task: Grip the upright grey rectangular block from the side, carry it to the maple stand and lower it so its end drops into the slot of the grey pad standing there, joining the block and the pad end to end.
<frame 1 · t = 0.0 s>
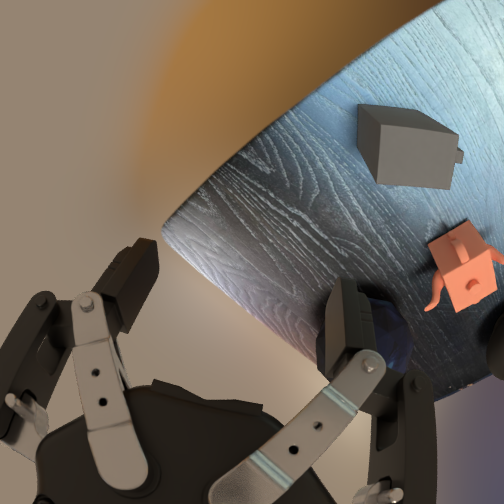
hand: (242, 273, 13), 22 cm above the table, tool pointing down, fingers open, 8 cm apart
decorative orb: (360, 310, 45), on the table
teapot: (454, 249, 35), on the table
grey rectangular block: (388, 128, 28), on the table
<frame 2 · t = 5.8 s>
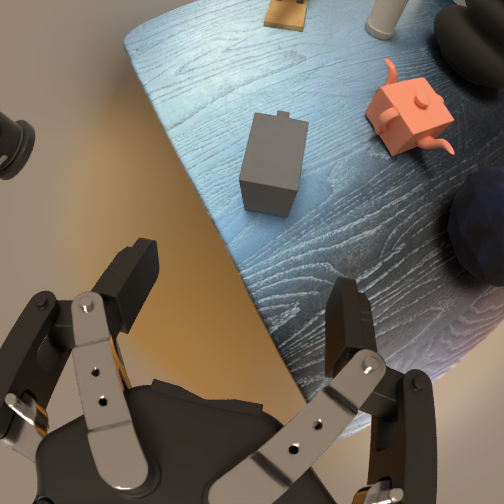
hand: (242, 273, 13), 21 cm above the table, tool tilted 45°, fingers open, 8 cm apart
bottle: (377, 32, 38), on the table
decorative orb: (467, 235, 33), on the table
pad stand: (288, 6, 39), on the table
teapot: (398, 129, 35), on the table
grey rectangular block: (271, 185, 35), on the table
vase: (461, 64, 37), on the table
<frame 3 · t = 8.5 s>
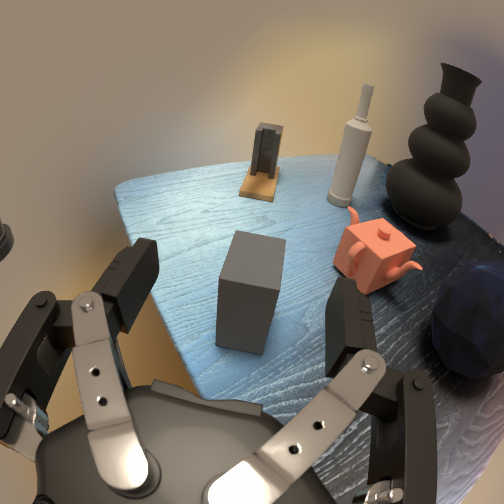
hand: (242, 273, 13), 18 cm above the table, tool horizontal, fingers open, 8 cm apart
bottle: (338, 201, 59), on the table
decorative orb: (452, 352, 31), on the table
pad stand: (260, 182, 61), on the table
teapot: (365, 275, 42), on the table
grey rectangular block: (244, 324, 33), on the table
vase: (413, 218, 59), on the table
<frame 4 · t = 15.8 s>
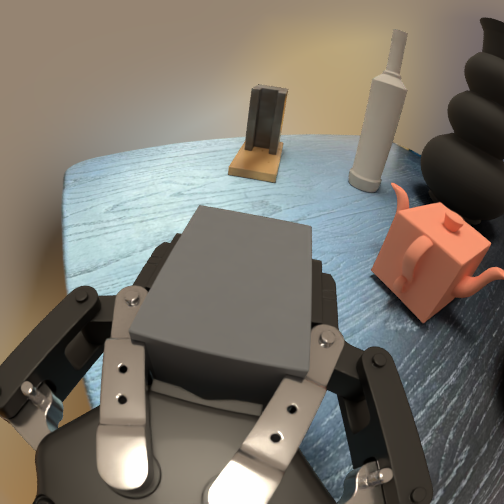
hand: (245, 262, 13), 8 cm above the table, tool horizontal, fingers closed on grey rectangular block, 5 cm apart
bottle: (362, 186, 43), on the table
pad stand: (259, 159, 45), on the table
teapot: (416, 288, 26), on the table
grey rectangular block: (224, 390, 16), on the table, touching gripper
vase: (453, 210, 43), on the table
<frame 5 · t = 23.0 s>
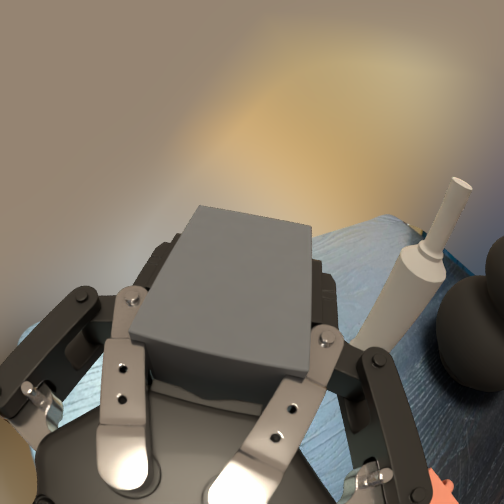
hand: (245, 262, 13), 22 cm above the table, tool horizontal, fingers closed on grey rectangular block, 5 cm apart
bottle: (360, 360, 35), on the table
grey rectangular block: (224, 390, 16), point 14 cm above the table, touching gripper
vase: (462, 359, 35), on the table
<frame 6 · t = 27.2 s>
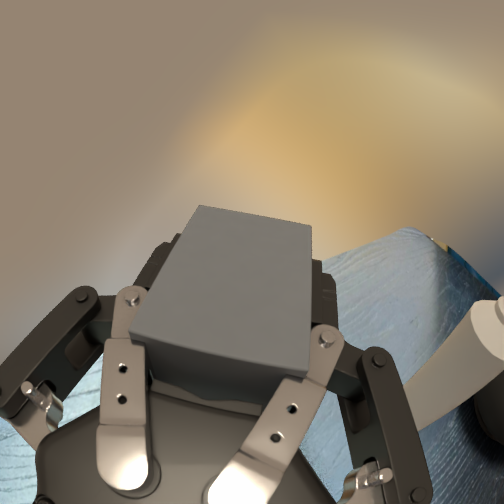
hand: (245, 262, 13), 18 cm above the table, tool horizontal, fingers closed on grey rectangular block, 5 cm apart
bottle: (386, 426, 24), on the table
grey rectangular block: (224, 390, 16), point 10 cm above the table, touching gripper
vase: (496, 408, 24), on the table
when the fingers open (9 cm above the table, at t = 30.7 s): grey rectangular block stays where it is, resting on pad stand.
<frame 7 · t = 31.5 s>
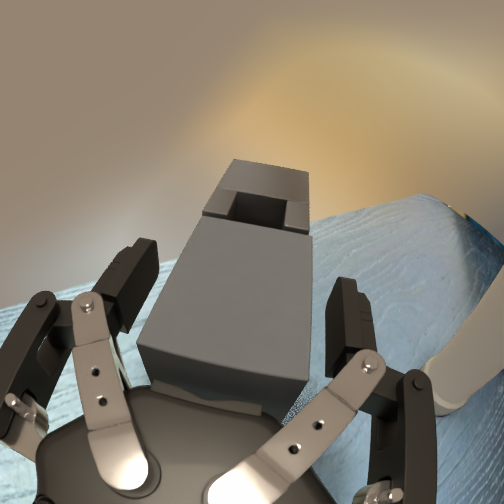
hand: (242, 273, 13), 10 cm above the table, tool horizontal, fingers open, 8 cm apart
bottle: (435, 392, 18), on the table
pad stand: (235, 353, 20), on the table
grey rectangular block: (227, 394, 17), point 1 cm above the table, touching pad stand
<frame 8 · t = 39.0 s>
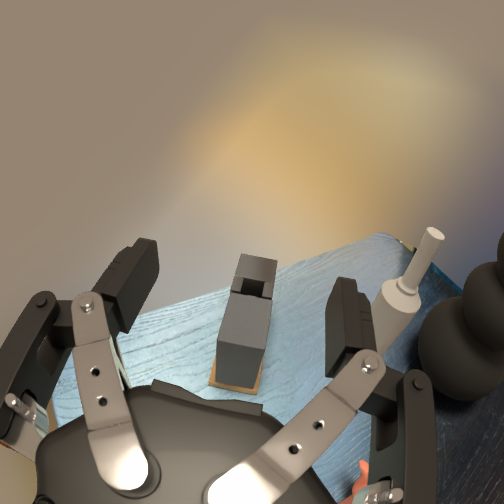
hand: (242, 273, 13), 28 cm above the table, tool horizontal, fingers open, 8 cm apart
bottle: (350, 370, 40), on the table
pad stand: (242, 345, 42), on the table
grey rectangular block: (238, 363, 38), point 1 cm above the table, touching pad stand
vase: (443, 370, 40), on the table
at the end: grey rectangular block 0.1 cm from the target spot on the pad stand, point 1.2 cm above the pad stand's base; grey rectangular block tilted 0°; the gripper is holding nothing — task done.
